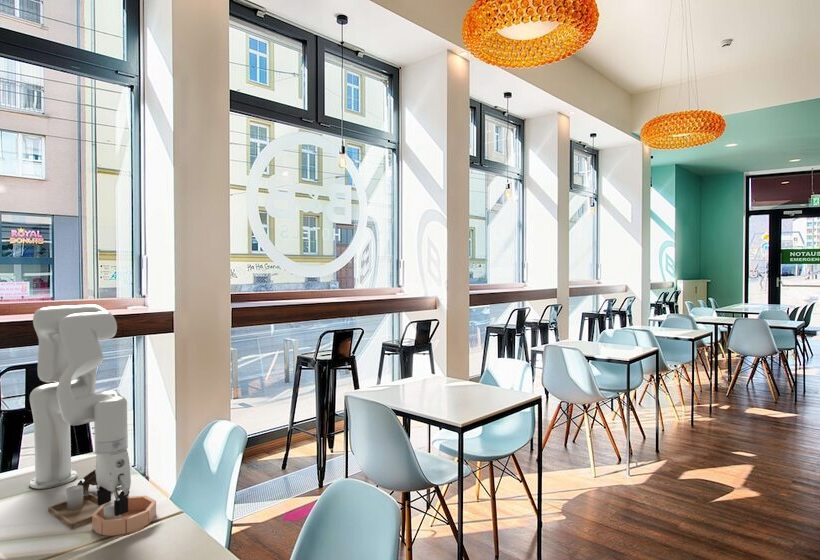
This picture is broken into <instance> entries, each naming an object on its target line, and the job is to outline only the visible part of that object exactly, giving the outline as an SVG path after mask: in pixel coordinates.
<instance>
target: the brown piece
mask: <svg viewBox="0 0 820 560" xmlns="http://www.w3.org/2000/svg"><path fill="white" fill-rule="evenodd" d="M95 470H96V469H93V470H92V471H90V472H89V473H88V474H86V475H85V476H84V477H83V480H84V481H83V480H80V481H79V482H78V483H76V486H77V485H82V486H83V493H84V492H87V493H88V492H89V491H90V490H89V489H90V486H97V481H96V473H95ZM116 488H118V486H117V487H116ZM112 493H113V492H111V494H112Z"/></svg>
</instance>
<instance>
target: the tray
mask: <svg viewBox="0 0 820 560" xmlns="http://www.w3.org/2000/svg"><path fill="white" fill-rule="evenodd" d="M83 496H84V506H83V507H82V508H80V509H78V510H74V511H68V510H67V500H66V501H63V502H60V503H57V504H54V505H52V506H49V507H47V511H48V513H49V514H51V515H52V516H53V517H54V518H56V519H58V520H59V521H60V522H61V523H63V524H64V525H66V526H67V527H68V528H70V529H71V530H72V529H73V530H74V529H75V528H78V527H81V526H84V525H87V524H88V523H92V514H93V513H94V512H95V511H96V510H97V509H98V508H99V507H100V506H101V505H98V504H97V495H95V494H94V493H92V492H90V493H87V494H85V495H84V494H83ZM105 504H106V503H105ZM102 505H103V504H102Z"/></svg>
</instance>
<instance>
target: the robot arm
mask: <svg viewBox="0 0 820 560" xmlns="http://www.w3.org/2000/svg"><path fill="white" fill-rule="evenodd" d="M32 324H33V328H34V331H35V332H36V336H37V339H38V350H37V351H38V352H37V354H38V355H37V377H38V378H39V381H41V382H44V383H46V384H42V385H39V386H37V387H35V388H33V389H32V391H31V392H30V394H29V404H30V408H31V414H32V419H33V431H34V432H33V433H34V434H33V435H34V436H33V437H34V466H35V467H34V471H35V472H34V473H35V474H34V475H35V476H34V477H33V478H32V479H30V480H29V487H31V488H32V489H40V490H41V489H42V490H43V489H50V488H55V487H60V486H62V485H67V484H68V483H70V482H72V481H74V480H75V479H76V478H77V477H78V473H77V471H76V470H73V469H72V455H71V454H72V452H71V451H72V447H71V446H72V443H71V442H72V441H71V440H72V439H71V438H72V437H71V426H80V425H84V424H88V423H93V424H94V429H93V430H94V431H93V432H94V454H95V455H96V459H95V469H94V470H95V473H96V481H97V485H96V490H97V491H96V492H97V493H96V496H97V504H98V505H102V504H105V503H108V502H111V501H112V493H113V495H114V498H115V501H114V500H113V501H114V515H115V516H118V515H121V514H124V513H126V512H128V497H130V490H131V485H132V479H131V478H132V477H131V465H130V456H129V451H128V448H129V441H128V440H129V439H128V401H127V399H126V398H125V397H123V396H122V395H121V394H120V393H119V391H118V390H117V391H116V390H103V391H99V392H98V391H97V392H96V382H97V370H98V369H97V367H99V366H100V365H101V364H102V363H103V360H104V354H103V351H102V348H101V345H100V342H99V341H100V340H101V341H102V340H108V339H109V340H111V339H112V338H113V337H115V336H116V334H117V330H118V324H117V320H116V318H115V316H114V315H113V314H112V312H110V311H109V310H107V309H106V308H103V307H102V306H100V305H98V304H77V305H57V306H56V305H55V306H47V307H46V306H45V307H40V308H38V309H36V310H35V312H34V313H33V316H32ZM116 487H117V488H116ZM119 491H120V493H119ZM111 492H112V493H111Z"/></svg>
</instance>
